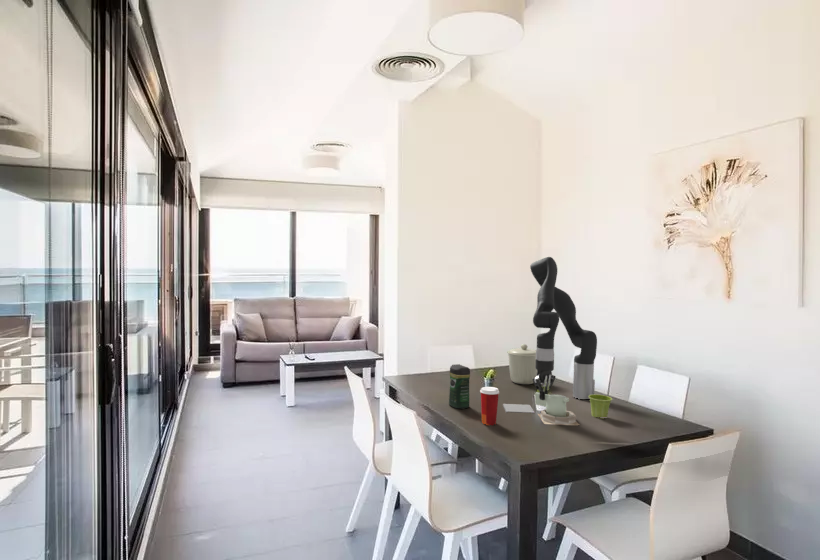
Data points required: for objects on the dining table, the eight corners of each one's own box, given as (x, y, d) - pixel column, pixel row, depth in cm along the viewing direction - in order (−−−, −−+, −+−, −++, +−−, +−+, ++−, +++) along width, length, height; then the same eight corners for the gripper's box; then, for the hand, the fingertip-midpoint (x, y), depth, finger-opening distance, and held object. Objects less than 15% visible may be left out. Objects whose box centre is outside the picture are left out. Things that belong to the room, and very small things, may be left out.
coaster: (529, 406, 226) (529, 404, 226) (534, 414, 214) (534, 412, 214) (502, 405, 227) (502, 403, 227) (506, 413, 215) (506, 411, 215)
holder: (570, 416, 212) (571, 409, 212) (579, 426, 198) (580, 419, 198) (537, 415, 213) (537, 407, 213) (544, 425, 199) (544, 417, 199)
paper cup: (501, 422, 202) (502, 388, 201) (494, 427, 195) (495, 392, 195) (483, 419, 206) (484, 385, 205) (475, 424, 199) (476, 389, 199)
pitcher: (573, 419, 205) (573, 397, 205) (561, 422, 200) (561, 400, 200) (542, 412, 217) (541, 391, 217) (530, 415, 212) (530, 393, 212)
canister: (511, 377, 286) (512, 340, 285) (543, 381, 278) (544, 343, 277) (502, 383, 270) (503, 344, 269) (536, 388, 262) (537, 348, 261)
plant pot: (613, 417, 213) (614, 396, 213) (608, 422, 205) (609, 401, 205) (591, 413, 218) (591, 393, 218) (585, 418, 210) (585, 397, 210)
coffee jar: (472, 408, 221) (473, 366, 221) (456, 410, 218) (457, 367, 218) (461, 402, 230) (462, 362, 230) (446, 404, 227) (447, 363, 226)
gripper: (547, 355, 218) (545, 395, 219) (527, 358, 210) (526, 399, 210) (561, 358, 212) (560, 399, 213) (542, 361, 204) (541, 403, 204)
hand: (543, 399), depth 211 cm, fingers closed on pitcher, 1 cm apart
